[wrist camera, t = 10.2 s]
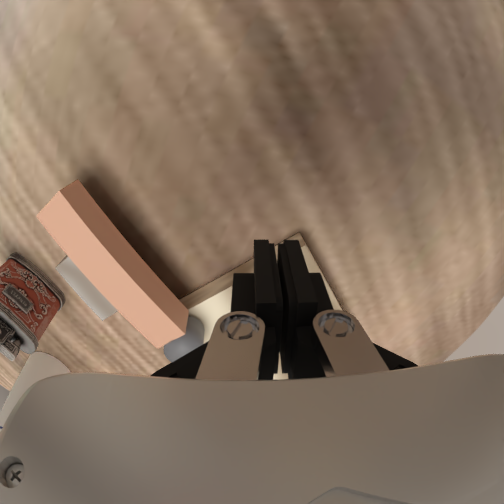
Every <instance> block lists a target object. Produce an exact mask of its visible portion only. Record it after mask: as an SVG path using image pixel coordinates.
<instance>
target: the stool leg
mask: <svg viewBox="0 0 504 504" xmlns="http://www.w3.org/2000/svg"><path fill="white" fill-rule="evenodd" d="M36 217H37V218H38V219H39V221H40V222H41V223H42V225H43V226H44V227H45V228H46V230H47V231H48V232H49V234H50V235H51V236H52V237H53V239H54V240H55V241H56V242H57V244H58V245H59V246H60V247H61V248H62V250H63V251H64V252H65V253H66V254H67V256H68V257H69V258H70V259H71V260H72V261H73V263H74V264H75V265H76V266H77V267H78V268H79V269H80V271H81V272H82V273H83V274H84V275H85V276H86V277H87V278H88V280H89V281H90V282H91V283H92V284H93V285H94V286H95V287H96V288H97V289H98V290H99V292H100V293H101V294H102V295H103V296H104V297H105V298H106V299H107V300H108V301H109V302H110V303H111V304H112V305H113V306H114V307H115V308H116V309H117V310H118V311H119V312H120V313H121V314H122V315H123V316H124V317H125V318H126V319H127V320H128V321H129V322H130V323H131V324H132V325H133V326H134V327H135V328H136V329H137V330H138V331H139V332H140V333H141V334H142V335H143V336H144V337H145V338H146V339H148V340H149V341H150V342H151V343H152V344H153V345H154V346H155V347H156V348H157V349H158V348H160V347H162V346H164V345H165V346H164V354H165V356H166V358H167V359H168V360H169V361H171V362H174V361H175V360H177V359H179V358H181V357H182V356H184V355H186V354H187V353H189V352H191V351H193V350H194V349H196V348H198V347H199V346H201V345H203V344H204V332H205V329H204V326H203V324H202V323H201V321H199V320H198V319H197V318H195V317H192V316H188V314H189V310H188V309H187V308H186V307H185V306H184V305H183V304H182V303H181V302H180V301H179V300H178V298H177V297H176V296H175V295H174V294H173V293H172V292H171V291H170V290H169V289H168V288H167V286H166V285H165V284H164V283H163V282H162V281H161V280H160V279H159V278H158V276H157V275H156V274H155V273H154V272H153V271H152V270H151V269H150V267H149V266H148V265H147V264H146V263H145V262H144V260H143V259H142V258H141V257H140V256H139V255H138V253H137V252H136V251H135V250H134V249H133V248H132V246H131V245H130V244H129V243H128V242H127V240H126V239H125V238H124V237H123V236H122V234H121V233H120V232H119V231H118V230H117V228H116V227H115V226H114V225H113V223H112V222H111V221H110V220H109V218H108V217H107V216H106V215H105V213H104V212H103V211H102V210H101V208H100V207H99V206H98V205H97V203H96V202H95V201H94V199H93V198H92V197H91V196H90V194H89V193H88V192H87V190H86V189H85V188H84V186H83V185H82V184H81V182H80V181H79V180H78V179H77V180H76V181H74V182H72V183H71V184H69V185H68V186H66V187H64V188H63V189H61V190H60V191H59V192H58V193H57V194H56V195H55V196H54V197H53V198H52V199H51V200H50V201H49V202H48V203H47V205H46V206H45V207H44V208H43V209H42V210H41V211H40V212H39V214H38V215H37V216H36Z"/></svg>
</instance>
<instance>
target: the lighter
mask: <svg viewBox="0 0 504 504" xmlns="http://www.w3.org/2000/svg"><path fill="white" fill-rule="evenodd" d="M64 303H65V297H64V294H63V293H62V292H61V291H60V289H59V288H58V287H57V286H56V285H55V284H54V283H53V282H52V281H51V280H50V279H49V278H48V277H47V276H46V275H45V274H44V273H43V272H42V271H41V270H39V269H38V268H37V267H36V266H35V265H33V264H32V263H31V262H30V261H28V260H27V259H25V258H24V257H22V256H21V255H19V254H17V253H13V254H11V255H10V256H9V257H8V258H7V259H6V262H5V263H4V264H3V265H2V266H1V267H0V352H1V353H2V354H3V355H5V356H6V357H7V358H8V359H9V360H11V361H14V360H15V358H16V356H17V355H18V353H19V350H22V351H23V352H25V353H27V354H32V353H34V352H35V350H36V348H37V347H38V341H39V340H40V338H41V336H42V335H43V333H44V332H45V330H46V328H47V327H48V325H49V324H50V322H51V320H52V319H53V317H54V316H55V314H56V313H57V311H59V310H60V309H61V308H62V306H63V305H64Z"/></svg>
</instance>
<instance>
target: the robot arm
mask: <svg viewBox="0 0 504 504" xmlns="http://www.w3.org/2000/svg"><path fill="white" fill-rule="evenodd" d="M279 353H280V359H281V369H282V374H284V373H288V379H280V380H273V376H274V374H277V373H278V364H279ZM0 504H504V354H488V355H479V356H473V357H468V358H462V359H457V360H450V361H446V362H440V363H435V364H429V365H423V366H418V365H416V364H414V363H413V362H411V361H409V360H407V359H405V358H403V357H401V356H399V355H396V354H394V353H392V352H390V351H388V350H386V349H384V348H382V347H380V346H378V345H376V344H374V343H372V341H371V340H370V338H369V337H368V335H367V334H366V332H365V331H364V329H363V327H362V326H361V324H360V323H359V321H358V320H357V319H356V318H355V317H354V316H353V315H351V314H350V313H348V312H345V311H342V310H334V309H333V306H332V303H331V300H330V297H329V295H328V292H327V289H326V286H325V284H324V281H323V278H322V275H321V273H309V271H308V268H307V265H306V262H305V259H304V255H303V252H302V249H301V246H300V243H299V240H284V241H283V244H278V255H277V259H276V253H275V246H274V244H269V241H268V240H254V273H234V274H233V285H232V298H231V311H230V313H227V314H225V315H223V316H221V317H220V318H219V319H218V320H217V322H216V323H215V326H214V329H213V331H212V334H211V337H210V340H209V341H208V342H206V343H204V344H203V345H201V346H199V347H198V348H196V349H194V350H193V351H191V352H189V353H187V354H186V355H184V356H182V357H181V358H179V359H177V360H175V361H174V362H172V363H170V364H168V365H167V366H165V367H163V368H161V369H160V370H158V371H156V372H155V373H154V374H152V375H151V376H144V375H129V374H117V373H107V372H74V373H66V374H60V375H54V376H51V377H47V378H44V379H41V380H39V381H37V382H36V383H34V384H33V385H32V386H30V387H29V388H28V389H27V390H26V391H25V393H24V394H23V395H22V396H21V398H20V399H19V400H18V402H17V403H16V405H15V407H14V408H13V410H12V411H11V413H10V415H9V416H8V418H7V420H6V422H5V424H4V426H3V428H2V430H1V432H0Z"/></svg>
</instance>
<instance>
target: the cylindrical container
mask: <svg viewBox="0 0 504 504" xmlns="http://www.w3.org/2000/svg"><path fill="white" fill-rule="evenodd" d="M66 373H71V372H70V370H69V369H68V368H67V367H66V366H65V365H64V364H63V363H62V362H61V361H60V360H58V359H57V358H55V357H53V356H51V355H49V354H47V353H44V352H34V353H32V354H31V355H30V356H29V358H28V360H27V361H26V363H25V365H24V367H23V369H22V370H21V372H20V374H19V376H18V378H17V380H16V382H15V384H14V385H13V387H12V389H11V391H10V393H9V395H8V397H7V399H6V401H5V403H4V405H3V407H2V409H1V412H0V432H1V430H2V428H3V426H4V424H5V422H6V420H7V418H8V416H9V415H10V413H11V411H12V410H13V408H14V407H15V405H16V403H17V402H18V400H19V399H20V398H21V396H22V395H23V394H24V393H25V391H26V390H27V389H28V388H29V387H30V386H32V385H33V384H34V383H36V382H37V381H39V380H41V379H44V378H47V377H51V376H54V375H60V374H66Z"/></svg>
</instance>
